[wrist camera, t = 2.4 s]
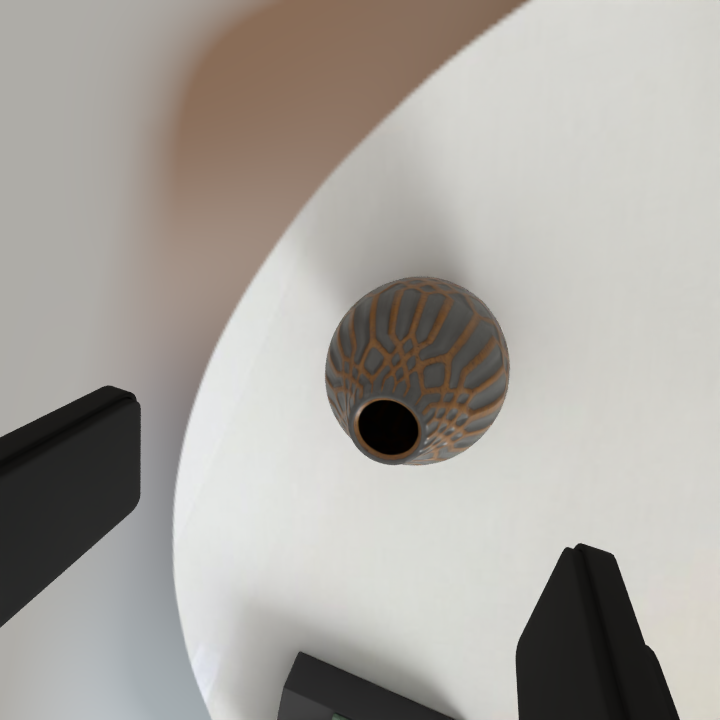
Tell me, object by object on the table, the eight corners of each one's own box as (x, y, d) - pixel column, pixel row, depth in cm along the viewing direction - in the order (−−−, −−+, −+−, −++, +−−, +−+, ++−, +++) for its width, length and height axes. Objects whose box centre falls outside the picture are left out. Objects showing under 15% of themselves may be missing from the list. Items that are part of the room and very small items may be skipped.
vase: (360, 259, 20) (272, 300, 13) (519, 272, 19) (534, 328, 11) (355, 397, 23) (279, 503, 15) (496, 419, 21) (494, 552, 13)
